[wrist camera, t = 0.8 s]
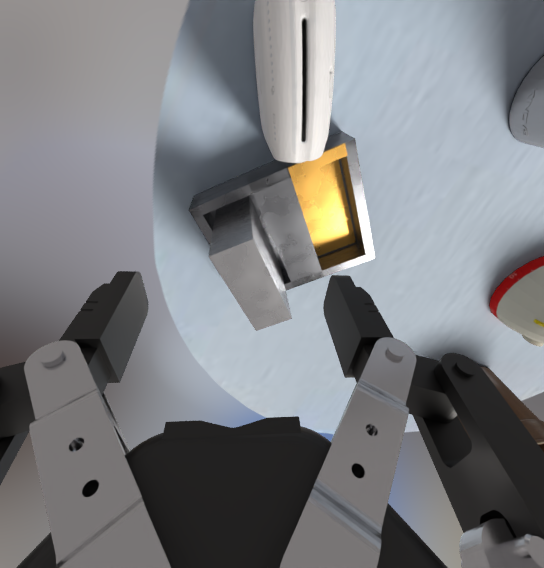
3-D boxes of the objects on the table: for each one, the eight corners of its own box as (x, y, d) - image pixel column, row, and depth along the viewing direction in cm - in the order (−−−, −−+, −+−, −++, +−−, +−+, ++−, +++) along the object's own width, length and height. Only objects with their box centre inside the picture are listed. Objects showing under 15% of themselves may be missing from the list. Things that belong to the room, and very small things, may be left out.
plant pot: (481, 396, 67) (539, 472, 54) (417, 405, 66) (460, 483, 54) (513, 354, 57) (592, 435, 44) (438, 364, 56) (496, 449, 44)
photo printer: (248, -4, 21) (257, -68, 12) (302, -8, 22) (355, -74, 12) (260, 141, 28) (272, 179, 18) (302, 137, 28) (336, 172, 18)
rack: (341, 130, 28) (388, 156, 19) (363, 242, 36) (402, 295, 28) (193, 195, 30) (175, 244, 22) (245, 285, 39) (248, 347, 30)
